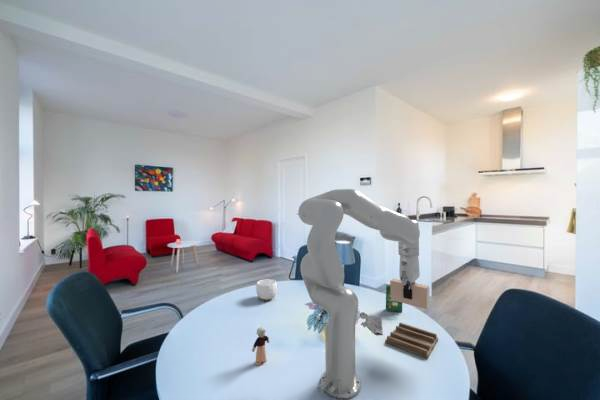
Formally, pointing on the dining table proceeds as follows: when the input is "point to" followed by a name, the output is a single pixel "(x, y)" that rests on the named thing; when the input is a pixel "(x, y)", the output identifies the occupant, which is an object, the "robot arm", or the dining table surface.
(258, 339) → the grandmother figurine
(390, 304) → the coffee box
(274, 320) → the dining table surface
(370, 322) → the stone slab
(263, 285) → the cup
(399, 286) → the tan flat block
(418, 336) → the rack
